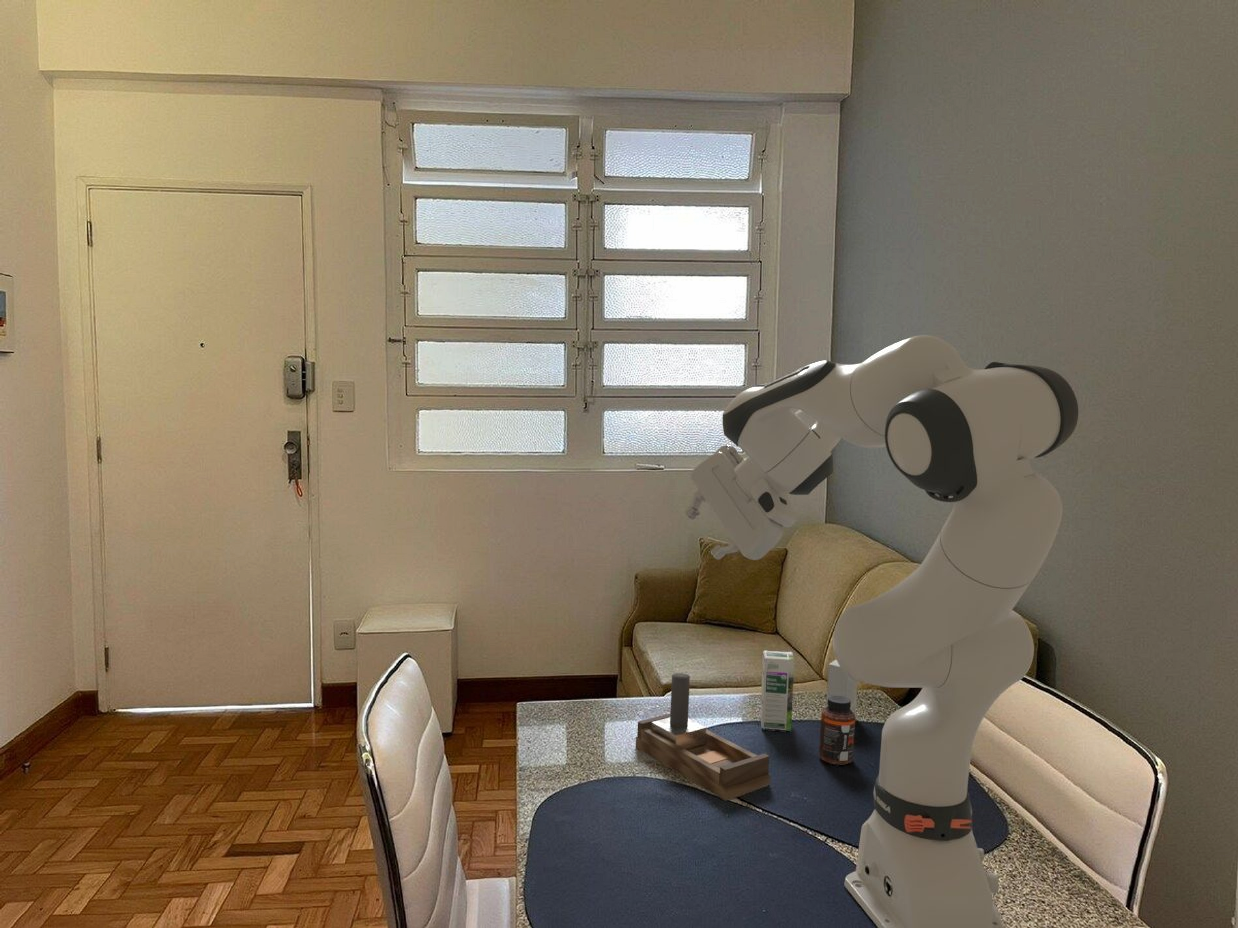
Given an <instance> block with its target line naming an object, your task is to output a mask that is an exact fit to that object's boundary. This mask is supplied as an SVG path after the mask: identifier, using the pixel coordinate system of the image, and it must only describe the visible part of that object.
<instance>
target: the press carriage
mask: <svg viewBox="0 0 1238 928" xmlns="http://www.w3.org/2000/svg"><path fill="white" fill-rule="evenodd" d="M690 680H691V677H690V675H689V674H687V673H683V672H682V673H681V672H678V673H677V672H676V673H673V674H672V675H671V688H670V689H671V691H670V695H671V696H670V713H669V714H670V718H666V719H662V720H658V721H654V722H652V724H651V731H653V732H655V733H657V734H658V735H660V736H662V737H664V738H666V739H667V740H669V741H671V742H673V743H675V744H676V745H678V746H680V747H682V748H684V749H689V748H692V747H696V746H699V745H703V744H706V729H707V726H705V725H702V724H700V723H699V722H697V721H695V720H693V719H690V718H689V707H690V706H689V704H690V683H691V682H690Z"/></svg>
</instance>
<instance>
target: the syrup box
mask: <svg viewBox="0 0 1238 928" xmlns="http://www.w3.org/2000/svg"><path fill="white" fill-rule="evenodd" d="M761 670H762V672H761V692H760V693H761V694H760V695H761V696H760V717H759V719H760V720H759V721H760V725H761V729H762V728H769V729H780V730H791V731H792V720H793V719H792V718H793V717H792V715H793V700H794V699H793V697H794V679H795V677H794V676H795V658H794V654H793V651H775V650H772V651H771V650H763V652H762V669H761Z"/></svg>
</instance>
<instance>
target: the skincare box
mask: <svg viewBox="0 0 1238 928" xmlns="http://www.w3.org/2000/svg"><path fill="white" fill-rule="evenodd" d="M827 666H828V667H827V685H826V703H825V706H826V707H828V704H827V703H828V697H829V696H834V695H837V696H844V697H847V698H849V699H850V700H851V707H850V709H851V711H853V712H854V714H855V717H856V713H857V693H858V681H854V680H852V679H850V678H849V677H848V676H847V675H846V674H845V673H844V671H843V670H842V669H841V667H840V665H839V664H838V662H837V659H836V658H835V660H833V661H832V662H830V663H828V665H827Z"/></svg>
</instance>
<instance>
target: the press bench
mask: <svg viewBox="0 0 1238 928" xmlns="http://www.w3.org/2000/svg"><path fill="white" fill-rule="evenodd" d="M666 718H670V713H667V714H663V715H658V716H655V717H651V718H646V719H642V720H639V721H637V735H636V736H635V748H636V749H637V750H640V751H641V752H642V753H644V754H646V755H647V756H649V757H650V758H653V759H655V760H656V761H657V762H659V763H661V764H663V765H664V766H666V767H668V768H670V769H671V770H673V771H674V772H676V773H678V774H680V775H681V776H683V777H685V778H686V779H688V780H690V781H692V782H693V783H695V784H697V785H698V786H700V787H702V788H703V789H705V790H706V791H708V792H710V793H711V794H713V795H715V796H716V797H719V798H720V799H721V800H722V801H723V800H724V801H730V800H732V799H733V800H734V799H735V798H738V797H741V796H744V795H747V794H750V793H753V792H755V791H754V790H756V791H758V790H757V789H759V788H762V787H764V786H767V785H769V784H770V783H771V774H770V773H769V772H770V771H769V769H770V768H769V767H770V755H768V754H766V753H761V754H756V753H754V752H751V751H749V750H747V749H746V748H743V747H741V746H740V745H738V744H736V743H734V742H732V741H730V740H728V739H726V738H724V737H723V736H720V735H719V734H716V733H714V732H712V731H711V730H708V728H706V744H703V745H699V746H696V747H692V748H689V749H684V748H682V747H680V746H678V745H676V744H675V743H673V742H671V741H669V740H667V739H666V738H664V737H662V736H660V735H658V734H657V733H655V732H653V731H651V724H652V722H654V721H658V720H662V719H666ZM770 785H771V784H770ZM767 787H768V786H767ZM762 789H763V788H762ZM759 790H760V789H759ZM752 791H753V792H752ZM749 792H750V793H749ZM746 793H747V794H746Z"/></svg>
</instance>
